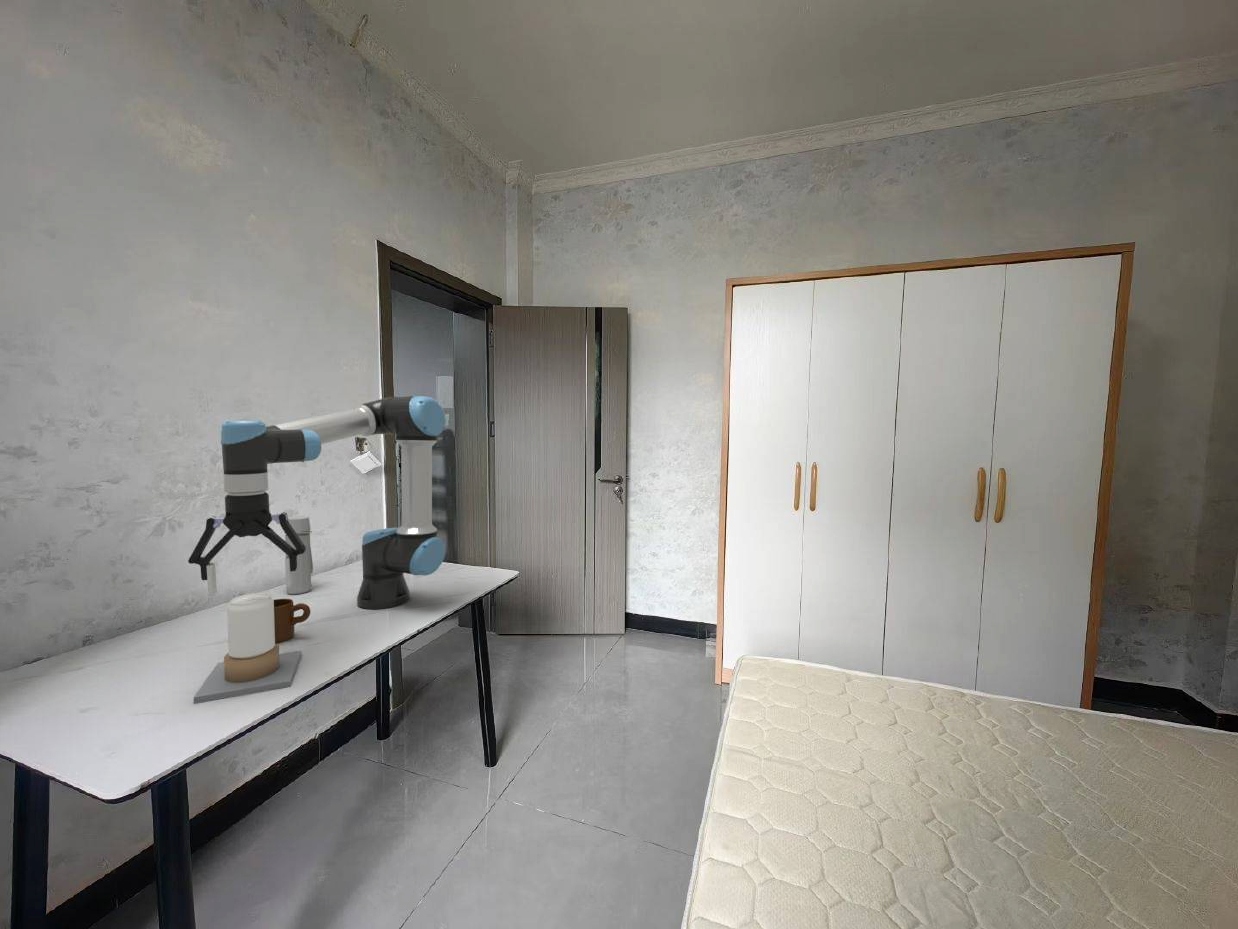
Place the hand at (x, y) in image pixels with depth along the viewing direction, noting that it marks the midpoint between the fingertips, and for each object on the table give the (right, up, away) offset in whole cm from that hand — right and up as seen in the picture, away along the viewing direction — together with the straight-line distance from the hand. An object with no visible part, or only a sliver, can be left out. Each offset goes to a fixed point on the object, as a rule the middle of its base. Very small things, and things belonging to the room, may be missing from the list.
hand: (252, 590), depth 107 cm
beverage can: (0, -14, 0) cm, 14 cm away
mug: (-7, -18, +21) cm, 29 cm away
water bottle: (-27, -16, +59) cm, 67 cm away
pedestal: (0, -19, +1) cm, 19 cm away
